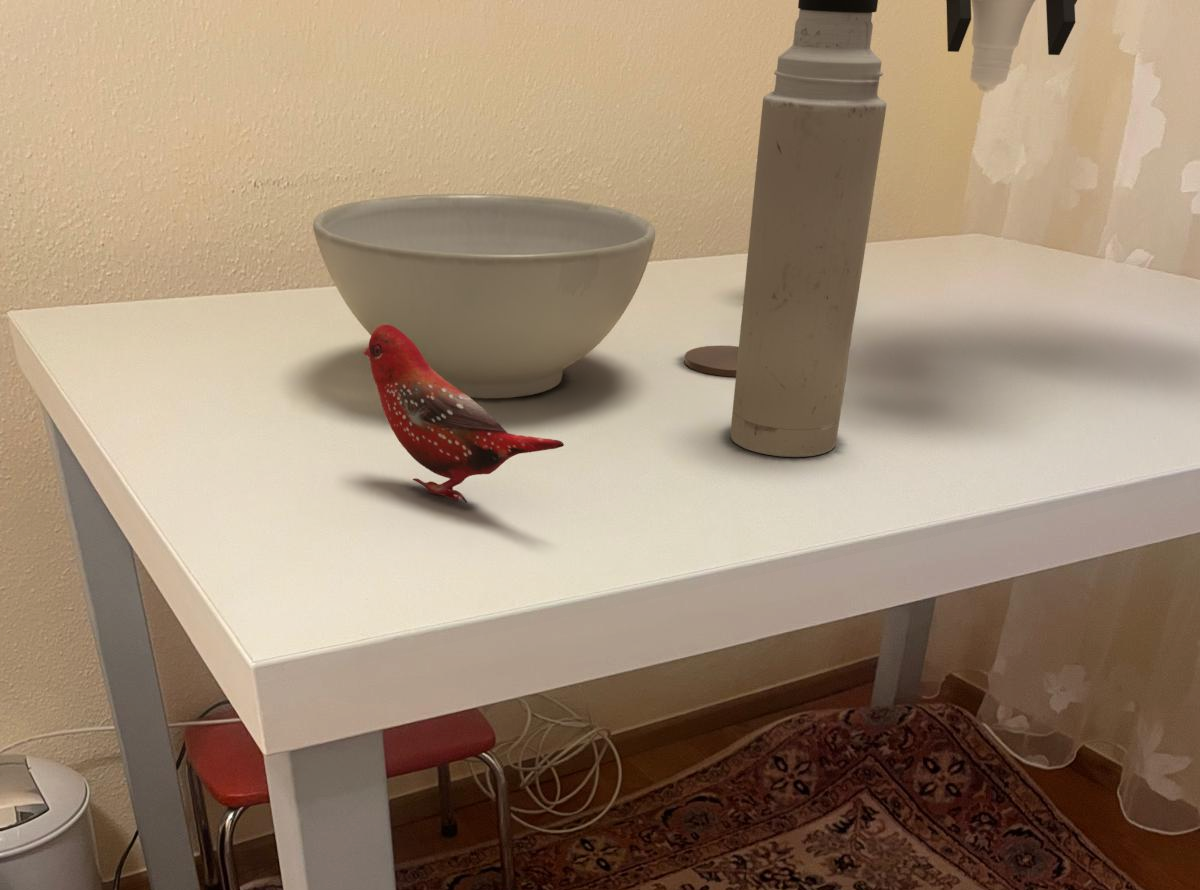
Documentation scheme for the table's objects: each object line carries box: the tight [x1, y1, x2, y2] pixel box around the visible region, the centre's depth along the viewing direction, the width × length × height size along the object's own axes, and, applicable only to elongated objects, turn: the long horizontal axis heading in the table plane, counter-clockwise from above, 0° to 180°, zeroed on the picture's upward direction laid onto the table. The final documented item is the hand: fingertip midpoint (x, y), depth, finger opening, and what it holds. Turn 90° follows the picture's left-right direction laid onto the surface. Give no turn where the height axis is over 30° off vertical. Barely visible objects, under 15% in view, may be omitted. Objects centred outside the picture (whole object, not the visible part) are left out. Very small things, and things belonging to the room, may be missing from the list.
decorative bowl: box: [312, 193, 656, 399], centre depth 98 cm, size 27×27×12 cm
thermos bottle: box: [729, 0, 887, 458], centre depth 82 cm, size 8×8×28 cm
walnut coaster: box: [684, 345, 739, 378], centre depth 107 cm, size 8×8×1 cm
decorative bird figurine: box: [363, 325, 565, 503], centre depth 75 cm, size 3×18×10 cm, turn 49°
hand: (1010, 36), depth 79 cm, fingers closed on lightbulb, 6 cm apart
